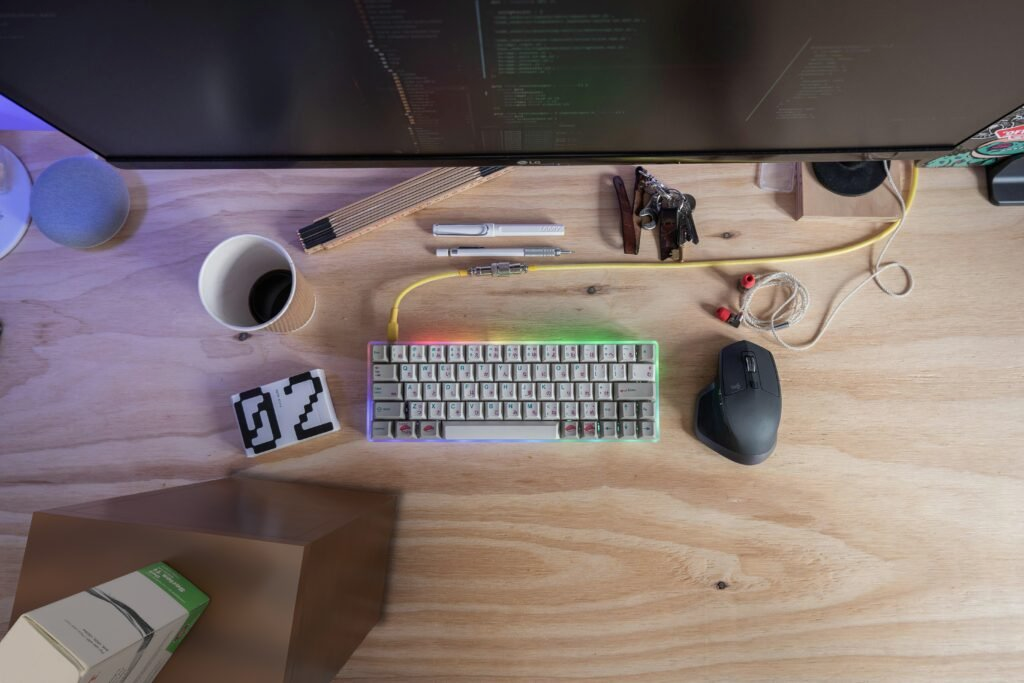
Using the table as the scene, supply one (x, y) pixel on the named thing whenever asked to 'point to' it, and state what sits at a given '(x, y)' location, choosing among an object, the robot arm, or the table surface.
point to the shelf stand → (299, 516)
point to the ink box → (104, 631)
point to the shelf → (202, 561)
